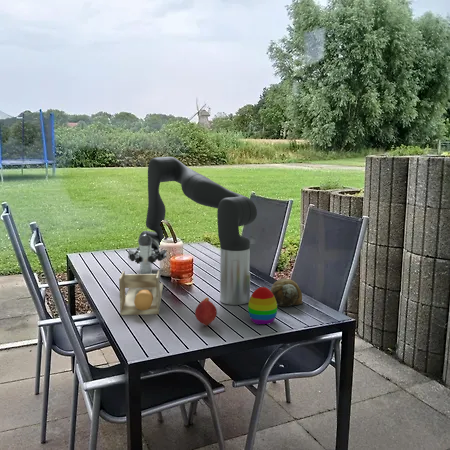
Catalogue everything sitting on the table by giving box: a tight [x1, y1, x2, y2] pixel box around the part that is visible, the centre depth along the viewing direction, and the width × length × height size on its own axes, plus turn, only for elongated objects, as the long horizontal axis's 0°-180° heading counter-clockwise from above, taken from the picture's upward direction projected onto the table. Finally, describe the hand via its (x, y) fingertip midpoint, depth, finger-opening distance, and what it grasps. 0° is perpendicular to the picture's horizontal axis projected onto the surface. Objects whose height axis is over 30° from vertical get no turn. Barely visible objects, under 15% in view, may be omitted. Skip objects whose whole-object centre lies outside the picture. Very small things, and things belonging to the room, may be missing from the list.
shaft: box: [134, 234, 153, 290], centre depth 150 cm, size 6×13×16 cm, turn 5°
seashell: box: [270, 277, 303, 308], centre depth 143 cm, size 11×9×8 cm
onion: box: [194, 297, 218, 327], centre depth 125 cm, size 6×6×8 cm
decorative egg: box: [247, 286, 278, 325], centre depth 128 cm, size 8×8×10 cm
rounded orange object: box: [134, 290, 153, 310], centre depth 134 cm, size 5×5×4 cm
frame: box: [118, 270, 164, 316], centre depth 145 cm, size 11×26×11 cm, turn 5°
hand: (145, 260), depth 151 cm, fingers closed on shaft, 4 cm apart
